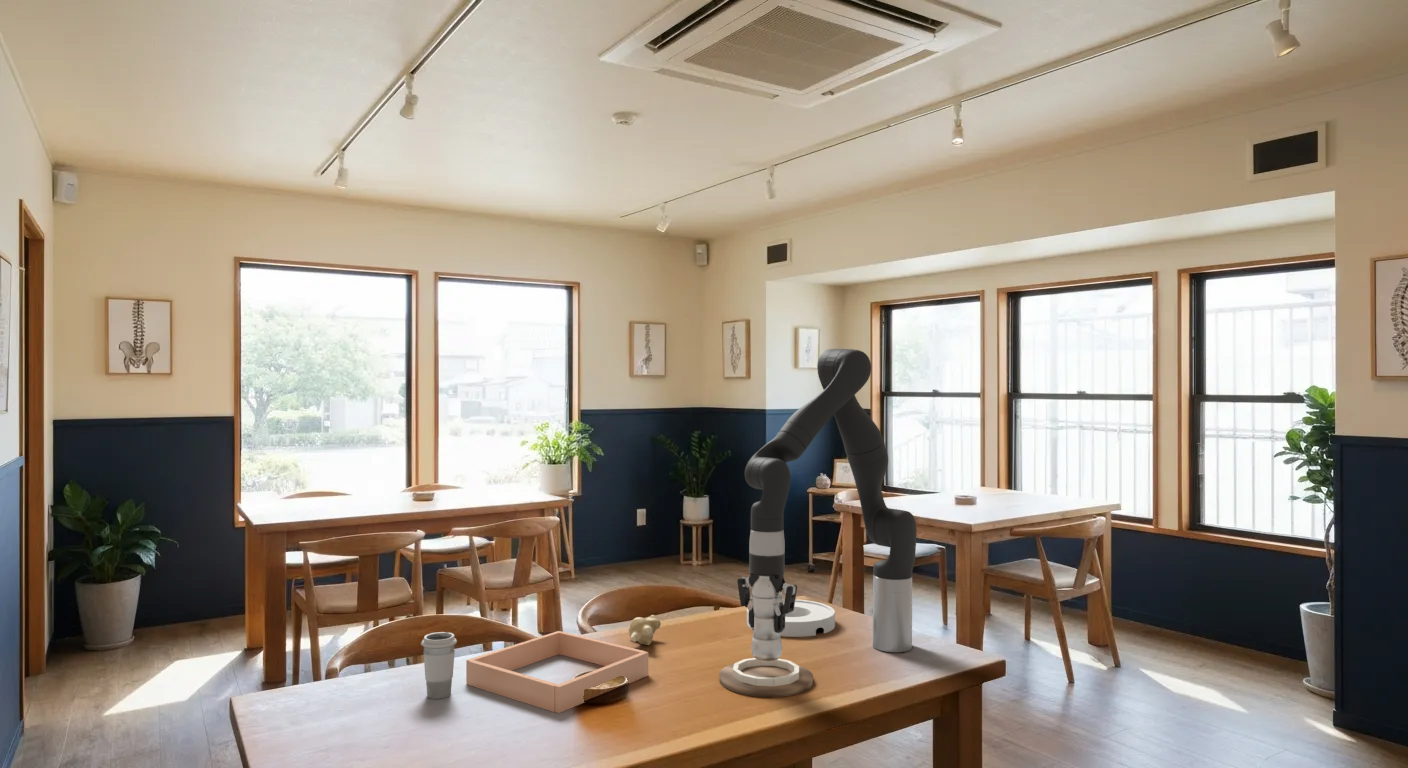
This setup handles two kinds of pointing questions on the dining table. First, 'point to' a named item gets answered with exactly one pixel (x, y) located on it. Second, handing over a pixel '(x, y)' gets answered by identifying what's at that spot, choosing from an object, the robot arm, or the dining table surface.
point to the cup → (439, 663)
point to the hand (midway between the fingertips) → (766, 629)
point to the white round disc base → (807, 619)
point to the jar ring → (766, 680)
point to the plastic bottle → (765, 621)
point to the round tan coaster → (766, 691)
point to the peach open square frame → (500, 679)
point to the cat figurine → (643, 629)
